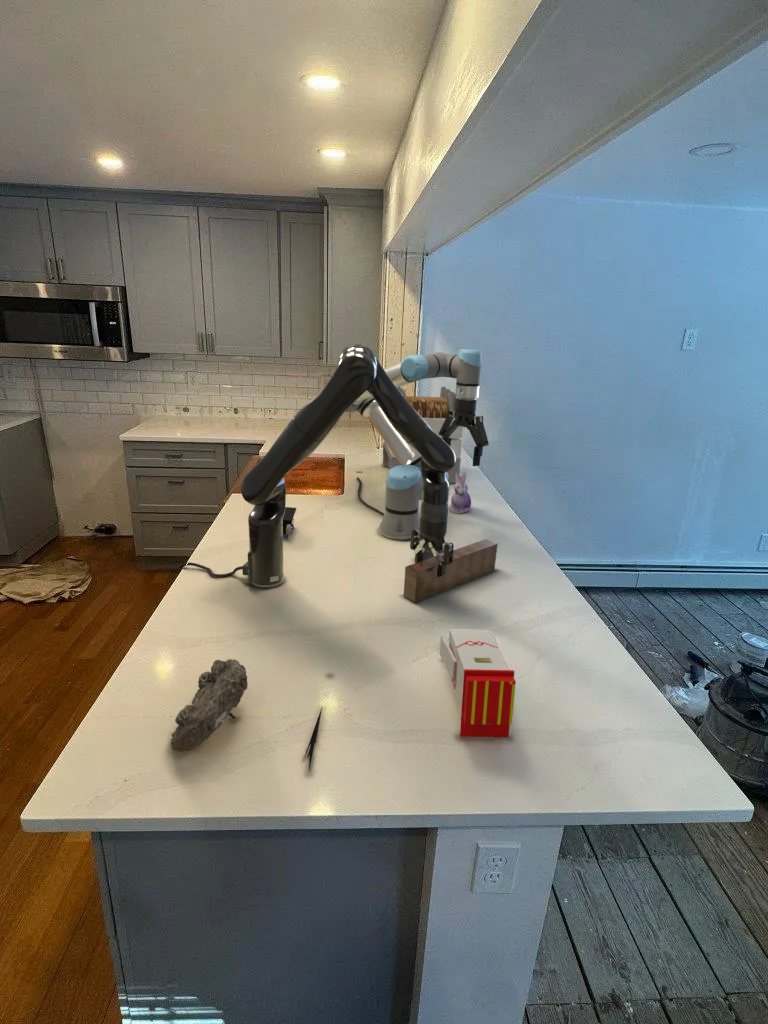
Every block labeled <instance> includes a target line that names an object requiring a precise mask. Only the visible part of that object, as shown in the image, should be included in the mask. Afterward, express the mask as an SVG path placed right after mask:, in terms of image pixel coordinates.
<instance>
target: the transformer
mask: <svg viewBox="0 0 768 1024" xmlns="http://www.w3.org/2000/svg"><path fill="white" fill-rule="evenodd" d="M397 389H398V390H399V391H400V393H401V394H402V395H403V396H404V397H405V399H406V400H407V401H408V402H409V403H410V404H411V406H412V407H413V408H414V409H415V410H416V411H417V412H418V413H419V415H420V416H421V417H422V418H423V419H424V420H425V421H426V423H427V424H428V425H429V426H430V428H431V429H432V430H433V431H434V432H435V433H436V434H437V435H438V436H439V437H440V438H441V439H442V440H443V437H442V436H441V435H439V431H440V429H441V427H442V425H443V423H444V421H445V419H446V417H447V412H448V410H455V409H454V404H455V399H456V398H457V397H456V396H455V394H456V392H454V391H451V389H450V388H446V386H441V387H440V394H439V396H416V395H414V396H413V395H410V396H409V395H407V393H406V390H405V389H404V388H402V386H400V387H397ZM454 420H455V417H454V418H453V420H452V422H453V421H454ZM452 422H451V425H452ZM451 425H450V426H451ZM463 431H464V427H463V426H458V427H457V429H456V430H455V431H454V432H453V433H452V434H451V436H450V437H448V438H451V449H452V450H453V451H454V453H455V456H456V463H455V466H454V467H453V469H452V470H450V471H449V472H448V482H449V484H456V476H455V475H456V473H457V474H458V475H459V476H460V475H461V473H460V472H461V471H460V470H461V462H462V458H461V452H462V443H463V442H462V438H463ZM382 442H383V443H382V463H381V464H382V465H383V467H386V468H388V471H389V470H390V469H391V468H393V467H395V466H399V465H401V463H400V462H399V460H398V459H397V458H396V456H395V455H394V453H393V452H392V451H391V449H390V448H389V446H388V445H387V444H386V442H385V441H382Z"/></svg>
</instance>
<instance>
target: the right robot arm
mask: <svg viewBox="0 0 768 1024" xmlns="http://www.w3.org/2000/svg"><path fill="white" fill-rule="evenodd" d="M482 362H483V353H482V351H481V350H480V349H471V348H470V349H469V348H462V349H459V351H458V353H457V354H453V353H452V354H451V353H444V352H431V353H427V354H418V353H415V354H411V355H408V356H405V358H404V359H403V360H402V361H399V362H396V363H393V364H391V365H389V366H386V367H383V369H384V371H385V372H386V374H387V375H388V377H389V378H390V379H391V381H392V382H393V384H394V385H395V386H396V388H397V387H404V386H405V385H409V384H411V383H416V382H418V381H421V380H424V379H425V380H426V379H435V378H450V379H455V380H456V382H455V396H456V399H455V404H454V409H455V410H448V412H447V417H446V419H445V421H444V423H443V425H442V427H441V429H440V431H439V435H441V436H442V437H443V440H444V441H445V442H446V443H447V444H448V445H449V446H450V447H451V438H448V437H450V436H451V434H452V433H453V432H454V431H455V430H456V429H457V427H458V426H463V428H466V430H468V431H469V433H470V436H471V438H472V439H473V442H474V444H475V446H474V447H473V456H472V467H478V466H481V457H482V456H483V451H484V447H487V446H489V440H488V436H487V432H486V428H485V424H484V416H483V415H476V413H477V411H478V404H479V400H478V398H479V396H480V395H479V394H480V381H481V373H482V372H481V370H482V367H483V363H482ZM345 412H358V413H359V414H360V416H361V417H362V419H364V420H369V421H370V423H371V424H372V426H373V427H374V428H375V430H376V431H377V433H378V434H379V435H380V437H381V438H382V440H383V442H386V444H387V445H388V446H389V448H390V449H391V451H392V452H393V453H394V455H395V456H396V458H397V459H398V460H399V462H400V463H401V465H399V466H395V467H393V468H391V469H390V470H389V469H388V472H387V474H386V479H385V504H384V505H385V507H384V508H385V509H384V511H383V512H382V511H381V510H379V509H378V508H376V507H374V506H372V505H370V504H368V503H367V502H365V501H364V500H363V499H362V497H361V488H362V481H361V479H360V478H359V477H358V476H357V477H356V480H357V482H358V489H357V498H358V500H359V501H360V503H362V504H363V505H364V506H365V507H367V508H369V509H371V510H373V511H375V512H376V513H378V514H380V515H381V516H382V519H381V522H379V526H378V533H379V534H380V535H381V536H382V537H385V538H387V539H389V540H395V541H411V533H412V530H415V529H418V528H419V521H420V513H419V507H420V506H419V505H420V501H422V491H423V478H422V469H421V455H420V454H419V453H418V451H417V450H415V449H414V448H413V447H411V446H410V445H409V444H408V443H407V442H406V441H405V440H404V439H403V438H402V437H401V436H400V435H399V434H398V432H397V431H396V430H395V429H394V428H393V426H392V425H391V424H390V422H389V421H388V419H387V417H386V416H385V414H384V413H383V411H382V409H381V408H380V406H379V405H378V403H377V402H376V401H375V399H374V398H373V397H372V396H371V394H370V393H369V392H368V391H366V392H365V393H364V394H363V395H362V396H360V397H359V398H358V399H357V400H356V401H355V402H354V403H353V404H352V405H351V406H350V407H349V408H348V409H347V410H346V411H345ZM454 417H455V420H454V421H453V422H452V420H453V418H454ZM451 422H452V425H451ZM450 425H451V426H450ZM445 476H446V479H447V481H448V472H446V473H445Z"/></svg>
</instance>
